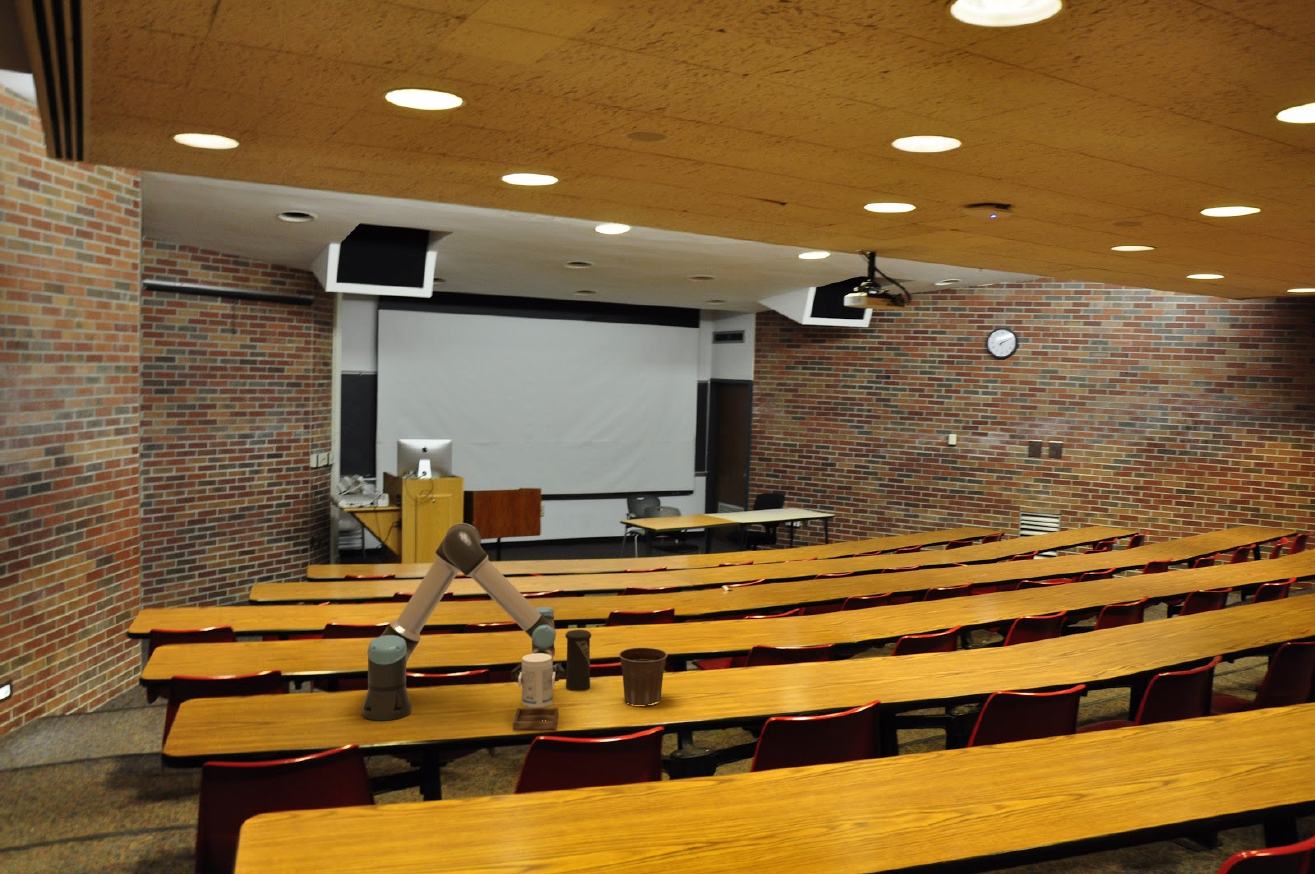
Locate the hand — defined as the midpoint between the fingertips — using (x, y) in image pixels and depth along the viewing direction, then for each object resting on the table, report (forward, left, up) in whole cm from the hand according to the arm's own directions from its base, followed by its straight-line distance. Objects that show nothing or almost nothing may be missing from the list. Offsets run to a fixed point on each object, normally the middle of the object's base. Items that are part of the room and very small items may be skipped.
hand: (536, 682), depth 283 cm
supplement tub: (0, +4, -8) cm, 9 cm away
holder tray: (0, +4, -14) cm, 15 cm away
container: (+12, +39, -14) cm, 44 cm away
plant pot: (+34, +24, -14) cm, 44 cm away
